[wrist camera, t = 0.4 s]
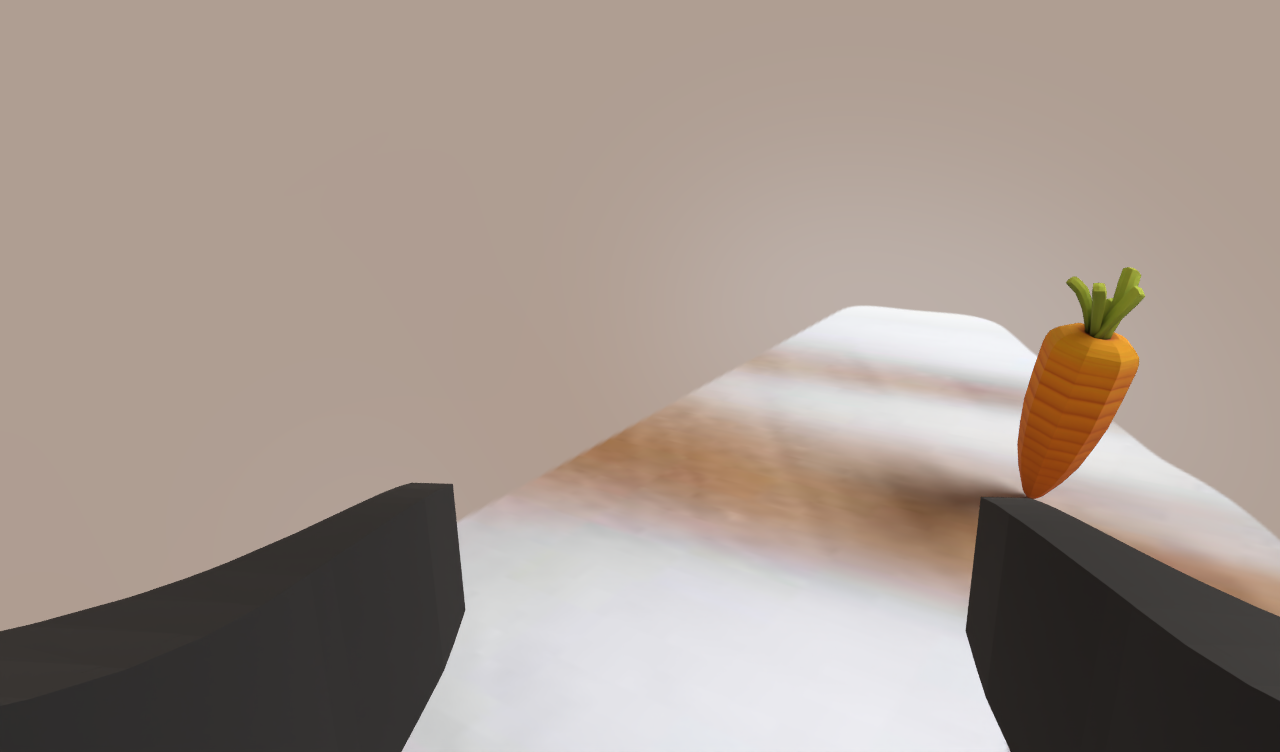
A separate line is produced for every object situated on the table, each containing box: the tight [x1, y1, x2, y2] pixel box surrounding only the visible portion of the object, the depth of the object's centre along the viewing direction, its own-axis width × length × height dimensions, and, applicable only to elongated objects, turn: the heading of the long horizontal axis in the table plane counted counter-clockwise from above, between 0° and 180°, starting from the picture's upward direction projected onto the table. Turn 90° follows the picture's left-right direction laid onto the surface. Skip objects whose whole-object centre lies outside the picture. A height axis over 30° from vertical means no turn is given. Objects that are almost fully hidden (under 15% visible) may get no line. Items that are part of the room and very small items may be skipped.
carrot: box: [1017, 267, 1145, 499], centre depth 47 cm, size 5×5×15 cm
